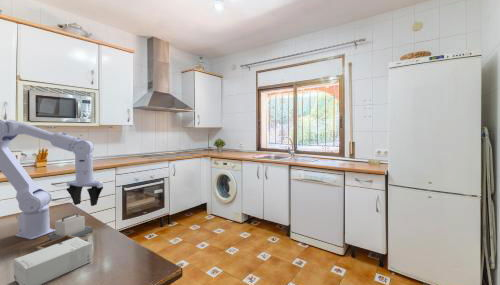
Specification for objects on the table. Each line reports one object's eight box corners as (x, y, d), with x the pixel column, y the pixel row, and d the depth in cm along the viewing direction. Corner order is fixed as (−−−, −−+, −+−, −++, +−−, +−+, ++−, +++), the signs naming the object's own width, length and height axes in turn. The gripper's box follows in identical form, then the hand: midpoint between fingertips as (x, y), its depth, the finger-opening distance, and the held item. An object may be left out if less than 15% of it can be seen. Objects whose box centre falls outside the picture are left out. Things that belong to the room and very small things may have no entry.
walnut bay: (35, 256, 72) (34, 247, 72) (67, 243, 81) (66, 234, 81) (57, 262, 69) (56, 252, 69) (87, 247, 78) (87, 238, 78)
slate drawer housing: (48, 240, 83) (48, 234, 83) (77, 229, 93) (77, 224, 93) (64, 243, 81) (64, 238, 80) (92, 232, 90) (92, 226, 90)
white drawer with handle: (55, 238, 84) (54, 217, 84) (75, 230, 90) (75, 211, 90) (65, 240, 82) (64, 219, 82) (85, 232, 89) (84, 213, 89)
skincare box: (92, 242, 69) (26, 268, 56) (92, 262, 69) (26, 292, 56) (76, 235, 73) (11, 258, 60) (76, 254, 73) (11, 281, 60)
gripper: (59, 172, 90) (60, 206, 91) (92, 173, 88) (93, 208, 88) (75, 169, 97) (76, 201, 98) (106, 170, 95) (107, 203, 95)
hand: (85, 204), depth 93 cm, fingers open, 7 cm apart
